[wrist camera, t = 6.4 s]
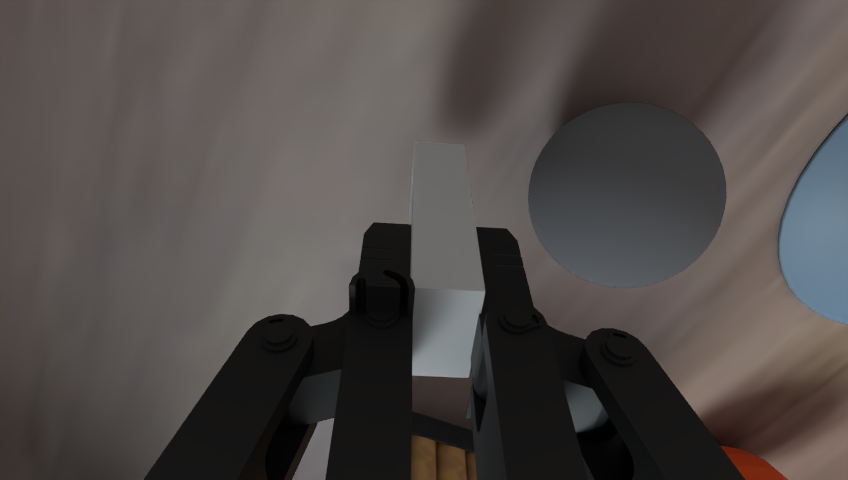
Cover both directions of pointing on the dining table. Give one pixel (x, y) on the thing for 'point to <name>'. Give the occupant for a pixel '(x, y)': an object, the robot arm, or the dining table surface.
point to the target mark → (819, 230)
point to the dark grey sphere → (627, 195)
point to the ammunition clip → (441, 450)
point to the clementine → (752, 465)
